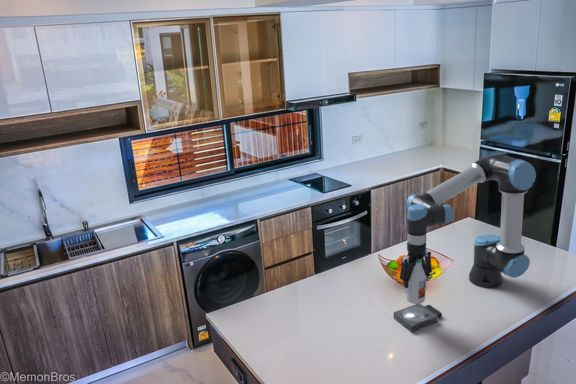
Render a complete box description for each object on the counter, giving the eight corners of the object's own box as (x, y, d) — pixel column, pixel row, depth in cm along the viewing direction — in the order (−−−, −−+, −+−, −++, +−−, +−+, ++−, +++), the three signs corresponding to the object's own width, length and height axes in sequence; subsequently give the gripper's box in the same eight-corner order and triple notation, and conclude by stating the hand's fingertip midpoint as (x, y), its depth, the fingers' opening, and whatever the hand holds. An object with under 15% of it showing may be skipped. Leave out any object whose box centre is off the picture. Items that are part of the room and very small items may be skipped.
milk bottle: (412, 306, 199) (412, 263, 193) (402, 296, 207) (403, 255, 200) (428, 302, 201) (429, 259, 195) (418, 293, 208) (419, 251, 202)
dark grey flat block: (426, 306, 217) (426, 300, 216) (445, 319, 206) (445, 313, 205) (393, 318, 210) (393, 312, 209) (411, 332, 199) (411, 326, 198)
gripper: (430, 233, 202) (428, 280, 210) (390, 244, 195) (390, 293, 202) (442, 239, 196) (440, 288, 203) (402, 251, 188) (401, 302, 195)
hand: (415, 290), depth 203 cm, fingers closed on milk bottle, 8 cm apart
